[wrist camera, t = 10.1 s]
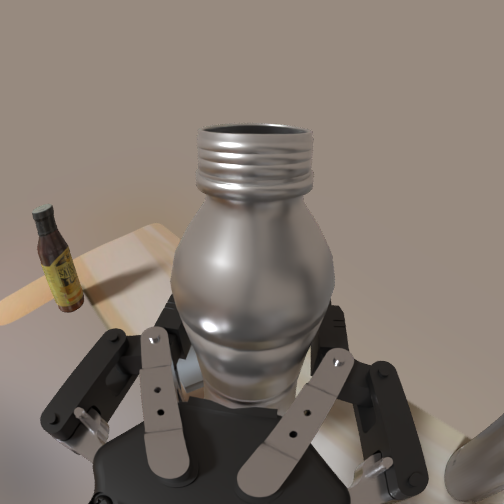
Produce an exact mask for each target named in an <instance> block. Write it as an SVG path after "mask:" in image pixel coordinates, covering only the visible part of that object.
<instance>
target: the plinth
mask: <svg viewBox="0 0 504 504" xmlns="http://www.w3.org/2000/svg"><path fill="white" fill-rule="evenodd" d="M177 366H178V372H179V377H180V382H181V387H182V392H183V397H184V400H185V401H188V399H189V396H193V397H198V398H203V399H204V382H203V377H202V373H201V370H200V367H199V363H198V360H197V356H196V353H195V351H194V348H193V346H192V345H191V348H190V350H189V353H188V355H187V358H186V360H184V359H179V360H178V363H177Z"/></svg>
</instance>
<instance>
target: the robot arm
mask: <svg viewBox="0 0 504 504" xmlns="http://www.w3.org/2000/svg"><path fill="white" fill-rule="evenodd" d="M191 345H192V344H191V341H190V339H189V337H188V334H187V332H186V330H185V327H184V325H183V322H182V320H181V318H180V315H179V312H178V310H177V308H176V304H175V300H174V297H173V294H172V295H171V296H170V298H169V300H168V303H166V305H165V308H164V309H163V311H162V312H161V314H160V316H159V318H158V320H157V322H156V323H155V325H154V327H150V328H148V329H146V330H145V331H144V332H143V333H142V335H135V336H126V334H125V332H124V331H123V330H121V329H117V328H115V329H110V330H108V331H107V332H105V333H104V334H103V336H102V337H101V338H100V339H99V340H98V342H97V343H96V344H95V345H94V347H93V348H92V349H91V350H90V351H89V353H88V354H87V355H86V356H85V357H84V359H83V360H82V361H81V362H80V364H79V365H78V366H77V367H76V369H75V370H74V371H73V373H72V374H71V375H70V376H69V378H68V379H67V380H66V382H65V383H64V384H63V386H62V387H61V388H60V389H59V391H58V392H57V394H56V395H55V396H54V397H53V399H52V400H51V402H50V403H49V404H48V406H47V407H46V408H45V410H44V412H43V413H42V415H41V419H40V421H41V425H42V427H43V429H44V430H45V431H47V432H48V433H49V434H50V435H51V436H52V437H53V438H54V439H55V440H57V441H58V442H59V443H61V444H62V445H63V446H65V447H66V448H68V449H70V450H71V451H73V452H74V453H76V454H78V455H82V456H83V457H84V458H86V459H88V460H89V461H90V462H92V463H93V472H94V479H95V490H94V495H93V497H92V499H91V501H90V502H89V503H88V504H393V503H396V502H399V501H402V500H405V499H408V498H410V497H413V496H415V495H418V494H420V493H421V492H422V491H423V490H424V489H425V488H426V486H427V484H428V480H429V477H428V472H427V468H426V464H425V460H424V456H423V452H422V448H421V445H420V441H419V438H418V434H417V431H416V427H415V424H414V421H413V418H412V415H411V411H410V408H409V405H408V402H407V399H406V396H405V394H404V391H403V388H402V385H401V382H400V379H399V377H398V374H397V371H396V369H395V367H394V366H393V365H392V364H390V363H389V362H386V361H377V362H375V363H373V364H372V365H367V364H364V363H361V362H359V361H357V360H355V359H354V358H353V356H352V354H351V353H350V352H349V348H348V341H347V333H346V325H345V318H344V313H343V311H342V310H341V308H340V307H339V306H334V305H331V299H330V302H329V305H328V308H327V311H326V314H325V315H324V317H323V320H322V322H321V324H320V326H319V329H318V331H317V333H316V335H315V337H314V339H313V341H312V343H311V376H312V378H311V379H310V381H309V382H308V383H306V384H305V385H304V387H303V388H302V390H301V391H300V393H299V394H298V396H297V397H296V399H295V400H294V402H293V403H292V404H291V406H290V407H289V409H288V410H287V412H286V413H285V414H284V416H280V415H277V412H278V409H271V408H262V407H248V408H236V409H232V408H228V407H226V406H224V405H221V404H219V403H216V402H214V401H212V400H208V399H203V398H198V397H193V396H189V399H188V401H185V400H184V397H183V392H182V387H181V382H180V377H179V372H178V366H177V363H178V360H179V359H184V360H186V358H187V355H188V353H189V350H190V348H191ZM139 374H140V387H141V399H142V408H143V417H144V421H143V422H141V423H140V424H138V425H136V426H135V427H133V428H131V429H130V430H128V431H126V432H125V433H123V434H121V435H119V436H118V437H116V438H114V439H112V440H111V441H109V442H107V439H108V434H109V426H108V424H107V423H108V421H109V420H110V418H111V417H112V415H113V414H114V412H115V410H116V409H117V407H118V406H119V404H120V403H121V401H122V400H123V398H124V396H125V395H126V393H127V392H128V390H129V389H130V387H131V386H132V384H133V383H134V381H135V380H136V378H137V377H138V375H139ZM336 399H340V400H343V401H346V402H349V403H352V404H353V408H354V412H355V417H356V421H357V426H358V431H359V436H360V441H361V446H362V451H363V457H364V461H363V462H362V463H361V464H360V465H358V467H357V468H356V470H355V473H354V481H353V484H352V485H351V487H350V488H349V489H347V488H346V486H345V485H344V484H343V483H342V481H341V480H340V479H339V478H338V477H337V475H336V474H335V473H334V472H333V471H332V469H331V468H330V467H329V466H328V464H327V463H326V462H325V461H324V459H323V458H322V457H321V456H320V454H319V453H318V452H317V451H316V449H315V448H314V447H313V446H312V444H311V441H312V440H313V438H314V437H315V435H316V433H317V432H318V430H319V428H320V427H321V425H322V423H323V422H324V420H325V418H326V416H327V415H328V413H329V411H330V409H331V408H332V406H333V404H334V402H335V400H336ZM445 485H446V488H447V491H448V492H449V494H450V495H451V496H452V497H453V498H454V499H456V500H459V501H469V500H472V501H474V502H475V503H476V502H478V501H480V500H483V499H485V498H487V497H489V496H491V495H494V494H496V493H498V492H500V491H502V490H504V414H503V415H502V416H500V417H499V418H498V419H497V420H496V421H495V422H494V423H492V424H491V425H490V426H489V427H488V428H486V429H485V430H484V431H483V432H481V433H480V434H479V435H478V436H476V437H475V438H473V439H472V440H471V441H469V442H468V443H466V444H465V445H464V446H462V447H461V448H460V449H458V450H457V451H456V452H455V453H454V454H453V455H452V456H451V458H450V460H449V461H448V464H447V466H446V470H445Z"/></svg>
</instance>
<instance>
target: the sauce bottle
mask: <svg viewBox="0 0 504 504" xmlns="http://www.w3.org/2000/svg"><path fill="white" fill-rule="evenodd" d="M32 214H33V219H34V220H35V222H36V227H37V230H38V235H39V241H38V246H37V250H38V254H39V257H40V260H41V265H42V268H43V271H44V273H45V276H46V279H47V281H48V284H49V287H50V289H51V292H52V294H53V296H54V299H55V301H56V303H57V304H58V306H59V309H60V310H61V311H62V312H73V311H75V310H77V309H79V308H80V307H81V306H82V304H83V302H84V295H83V290H82V288H81V285H80V282H79V279H78V276H77V273H76V270H75V267H74V264H73V260H72V257H71V254H70V250H69V247H68V245H67V243H66V242H65V240H64V239H63V237H62V236H61V234H60V232H59V231H58V229H57V225H56V223H55V219H54V210H53V206H52V205H51V204H46V205H43V206H40V207H38V208H36V209H34V210H33V212H32Z"/></svg>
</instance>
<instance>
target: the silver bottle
mask: <svg viewBox="0 0 504 504" xmlns="http://www.w3.org/2000/svg"><path fill="white" fill-rule="evenodd" d="M312 133H313V132H312V131H311V130H309V129H305V128H301V127H295V126H288V125H279V124H263V123H261V124H259V123H238V124H221V125H213V126H207V127H203V128H200V129H198V136H197V149H198V169H197V170H196V186H197V188H198V189H199V190H200V191H201V192H203V193H205V194H206V198H205V202H204V203H203V204H202V206H201V207H200V209H199V210H198V212H197V213H196V215H195V216H194V218H193V219H192V221H191V222H190V224H189V225H188V227H187V229H186V231H185V233H184V235H183V237H182V239H181V241H180V243H179V245H178V247H177V249H176V251H175V255H174V261H173V267H172V273H171V280H170V282H171V289H172V293H173V297H174V300H175V304H176V308H177V310H178V312H179V315H180V318H181V320H182V322H183V325H184V327H185V330H186V332H187V334H188V337H189V339H190V341H191V344H192V346H193V348H194V351H195V353H196V356H197V360H198V363H199V367H200V370H201V373H202V377H203V382H204V399H208V400H212V401H214V402H216V403H219V404H221V405H224V406H226V407H228V408H232V409H236V408H248V407H262V408H271V409H278V412H277V415H280V416H284V414H285V413H286V412H287V410H288V409H289V407H290V406H291V404H292V403H293V402H294V400H295V399H296V397H295V395H296V387H297V379H298V377H299V374H300V370H301V368H302V365H303V363H304V360H305V357H306V354H307V351H308V349H309V347H310V345H311V343H312V341H313V339H314V337H315V335H316V333H317V331H318V329H319V326H320V324H321V322H322V320H323V317H324V315H325V314H326V311H327V308H328V305H329V302H330V299H331V296H332V293H333V290H334V286H335V276H334V266H333V257H332V254H331V251H330V248H329V246H328V244H327V242H326V239H325V237H324V235H323V233H322V231H321V229H320V227H319V225H318V223H317V222H316V220H315V219H314V217H313V215H312V214H311V212H310V211H309V209H308V208H307V206H306V204H305V203H304V198H303V195H305V194H307V193H308V192H310V191H311V190H312V187H313V177H314V172H313V171H312V170H311V165H312V151H313V137H312Z"/></svg>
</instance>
